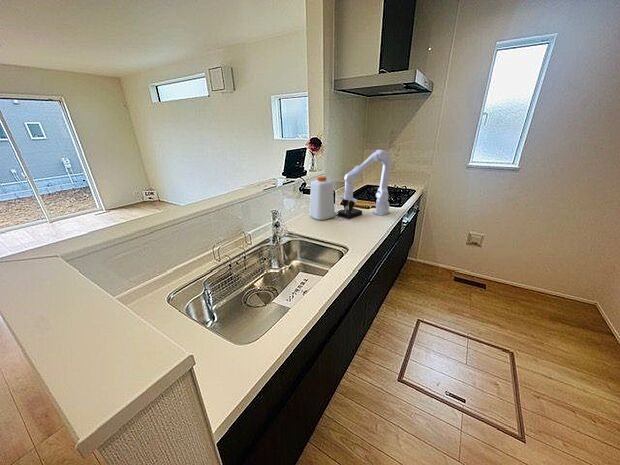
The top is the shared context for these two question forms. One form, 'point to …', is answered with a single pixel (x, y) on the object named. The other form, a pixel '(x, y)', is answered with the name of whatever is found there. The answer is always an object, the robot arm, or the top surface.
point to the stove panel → (350, 213)
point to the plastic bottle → (321, 199)
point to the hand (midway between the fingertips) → (348, 210)
